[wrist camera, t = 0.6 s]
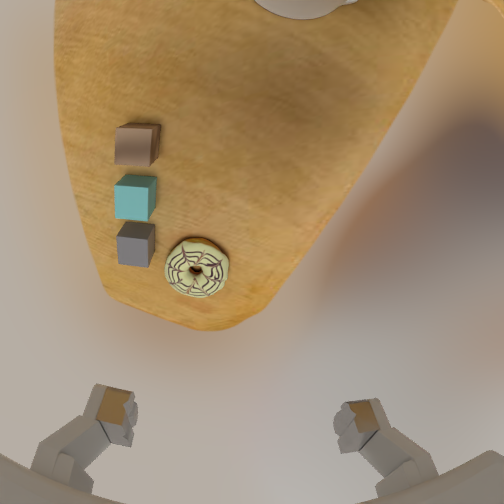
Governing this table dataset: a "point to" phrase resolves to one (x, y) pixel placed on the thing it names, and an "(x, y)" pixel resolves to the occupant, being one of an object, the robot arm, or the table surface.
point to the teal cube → (135, 197)
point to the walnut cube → (137, 144)
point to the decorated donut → (196, 255)
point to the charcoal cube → (136, 244)
